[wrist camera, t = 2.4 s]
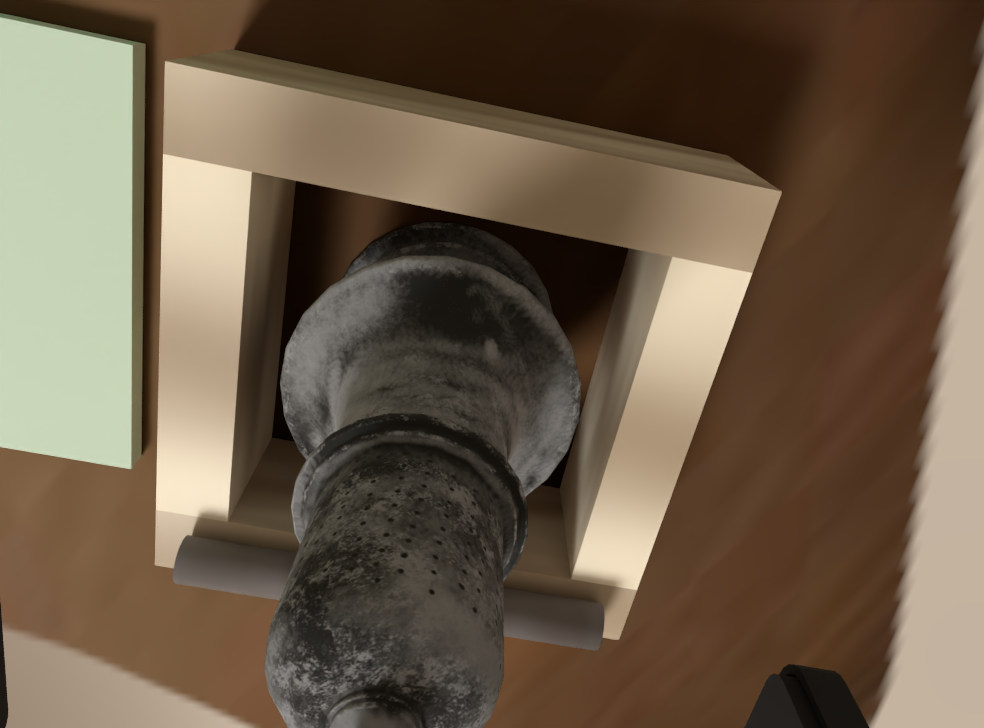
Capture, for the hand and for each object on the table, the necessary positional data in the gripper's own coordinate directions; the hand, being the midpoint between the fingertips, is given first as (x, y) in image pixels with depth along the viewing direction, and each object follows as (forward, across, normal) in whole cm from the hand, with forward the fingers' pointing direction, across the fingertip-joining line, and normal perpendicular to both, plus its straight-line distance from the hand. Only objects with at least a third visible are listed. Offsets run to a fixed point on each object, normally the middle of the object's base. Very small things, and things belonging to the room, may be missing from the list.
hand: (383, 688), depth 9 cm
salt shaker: (+10, 0, -1) cm, 10 cm away
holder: (+10, 0, -1) cm, 10 cm away
